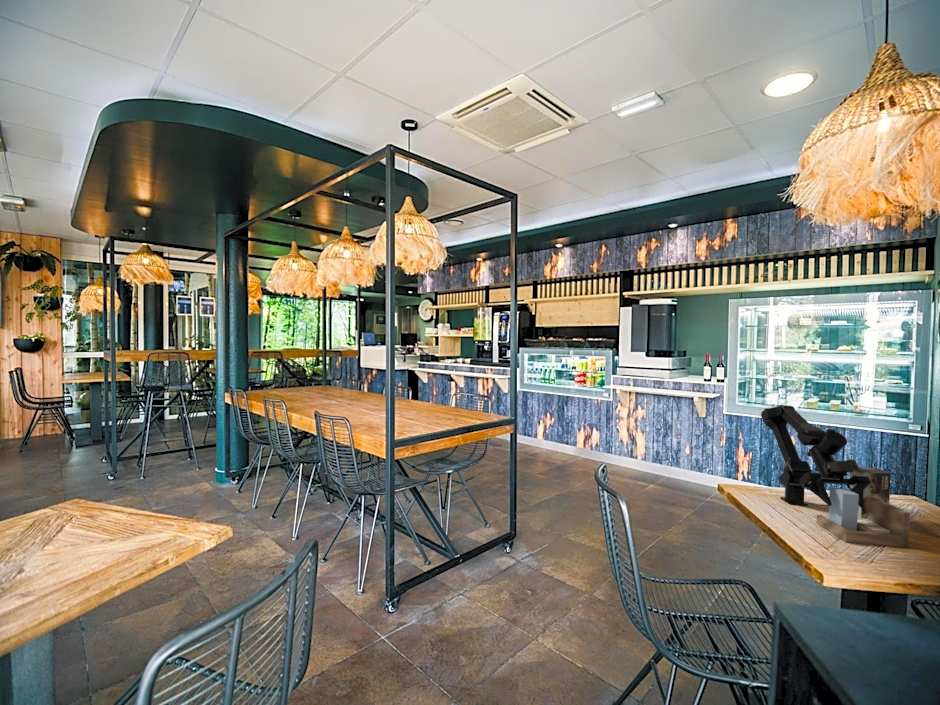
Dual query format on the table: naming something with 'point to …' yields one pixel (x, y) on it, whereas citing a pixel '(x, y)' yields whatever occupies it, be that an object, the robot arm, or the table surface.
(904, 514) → the book rack
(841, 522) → the blue-gray rectangular box
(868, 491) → the coffee box
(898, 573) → the table surface
